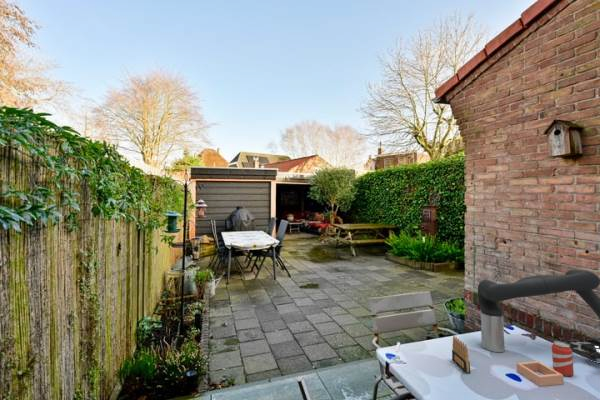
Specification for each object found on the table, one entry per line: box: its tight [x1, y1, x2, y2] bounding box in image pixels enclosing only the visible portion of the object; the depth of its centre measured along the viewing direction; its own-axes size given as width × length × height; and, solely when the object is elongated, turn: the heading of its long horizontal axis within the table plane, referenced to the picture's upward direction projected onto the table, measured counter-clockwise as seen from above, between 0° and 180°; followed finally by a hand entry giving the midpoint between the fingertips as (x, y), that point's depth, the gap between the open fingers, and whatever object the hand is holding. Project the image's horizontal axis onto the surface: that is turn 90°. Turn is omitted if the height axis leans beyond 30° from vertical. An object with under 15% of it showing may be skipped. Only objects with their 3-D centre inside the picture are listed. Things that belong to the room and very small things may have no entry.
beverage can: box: [551, 340, 574, 377], centre depth 118 cm, size 6×6×12 cm
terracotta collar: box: [516, 360, 565, 387], centre depth 115 cm, size 10×10×4 cm
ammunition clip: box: [451, 334, 471, 374], centre depth 125 cm, size 11×2×12 cm, turn 1°
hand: (579, 352), depth 121 cm, fingers open, 8 cm apart
